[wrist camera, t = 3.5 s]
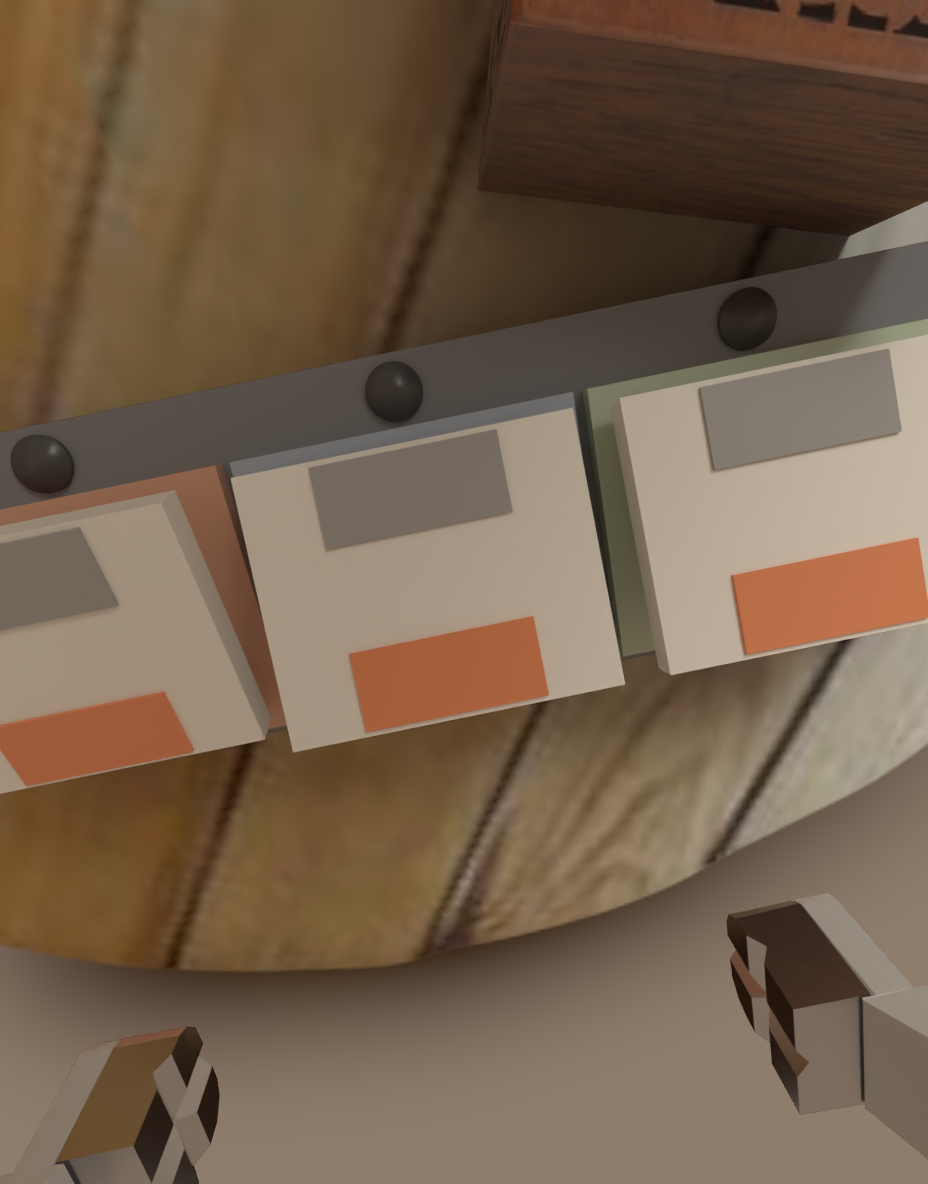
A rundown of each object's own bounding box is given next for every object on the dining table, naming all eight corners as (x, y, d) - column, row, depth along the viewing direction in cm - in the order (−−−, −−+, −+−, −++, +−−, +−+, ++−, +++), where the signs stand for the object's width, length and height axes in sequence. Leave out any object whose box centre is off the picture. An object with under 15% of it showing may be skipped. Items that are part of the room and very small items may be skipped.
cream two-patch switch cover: (933, 340, 20) (966, 325, 19) (972, 603, 21) (1008, 607, 20) (610, 407, 20) (621, 396, 19) (658, 668, 21) (672, 676, 20)
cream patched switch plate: (175, 490, 19) (159, 504, 17) (271, 718, 23) (264, 742, 22) (-179, 562, 19) (-218, 582, 17) (-17, 777, 23) (-41, 804, 22)
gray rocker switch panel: (881, 260, 24) (963, 231, 20) (883, 577, 27) (953, 601, 24) (-97, 461, 24) (-192, 469, 20) (32, 751, 27) (-30, 802, 24)
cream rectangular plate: (566, 415, 20) (573, 406, 19) (615, 676, 21) (626, 685, 20) (243, 482, 20) (228, 477, 19) (302, 741, 21) (291, 753, 20)
